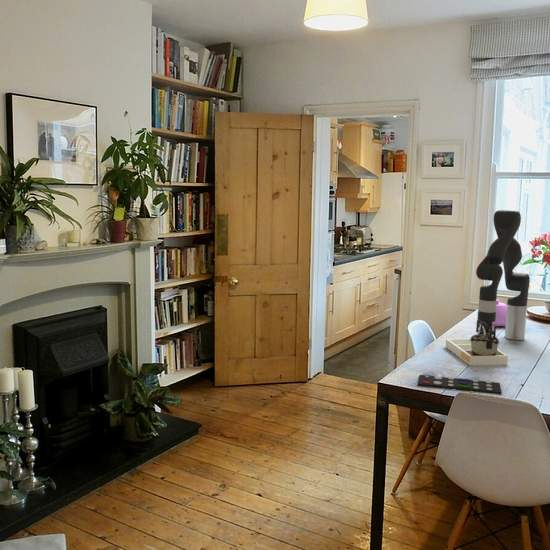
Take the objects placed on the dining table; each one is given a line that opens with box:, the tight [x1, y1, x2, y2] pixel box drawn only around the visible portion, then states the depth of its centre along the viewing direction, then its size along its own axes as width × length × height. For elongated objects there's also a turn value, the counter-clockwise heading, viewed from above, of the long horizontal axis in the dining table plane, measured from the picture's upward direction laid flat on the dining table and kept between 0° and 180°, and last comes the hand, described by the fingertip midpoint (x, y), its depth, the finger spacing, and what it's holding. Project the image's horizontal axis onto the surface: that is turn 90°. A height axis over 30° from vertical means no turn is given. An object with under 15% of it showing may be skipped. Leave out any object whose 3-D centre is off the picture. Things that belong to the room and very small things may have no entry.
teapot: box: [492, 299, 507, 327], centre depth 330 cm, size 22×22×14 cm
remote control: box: [417, 374, 503, 396], centre depth 231 cm, size 11×30×2 cm, turn 73°
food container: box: [469, 333, 500, 356], centre depth 262 cm, size 12×6×10 cm, turn 67°
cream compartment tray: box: [445, 338, 509, 366], centre depth 271 cm, size 29×17×4 cm, turn 5°
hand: (484, 346), depth 261 cm, fingers open, 8 cm apart
